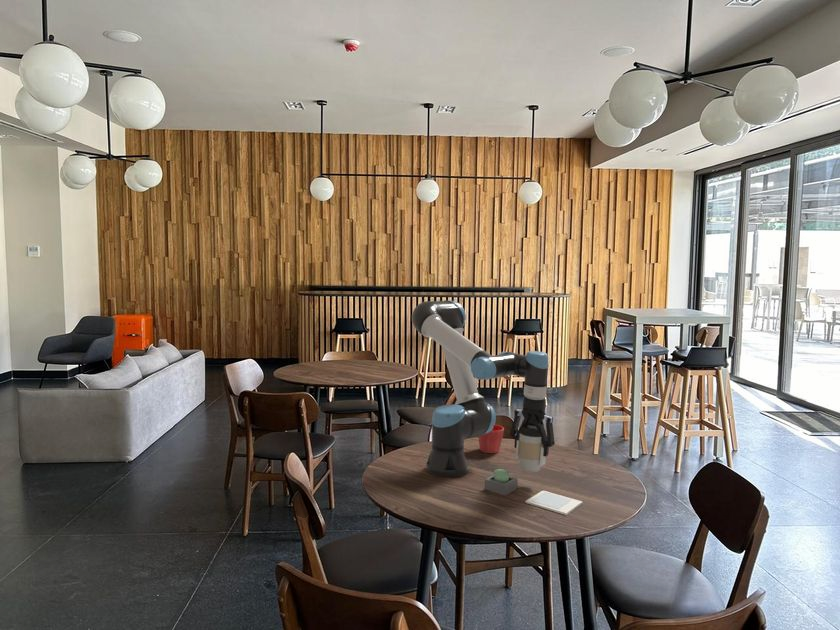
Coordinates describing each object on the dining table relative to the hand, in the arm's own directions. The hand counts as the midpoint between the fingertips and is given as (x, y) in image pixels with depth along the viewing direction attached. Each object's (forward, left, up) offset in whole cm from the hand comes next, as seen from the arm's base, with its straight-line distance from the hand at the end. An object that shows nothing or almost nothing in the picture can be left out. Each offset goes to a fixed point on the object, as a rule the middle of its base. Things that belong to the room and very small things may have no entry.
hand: (530, 461), depth 206 cm
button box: (-5, -10, -8) cm, 14 cm away
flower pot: (-30, +23, -9) cm, 39 cm away
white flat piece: (+14, -9, -8) cm, 18 cm away
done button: (-5, -10, -6) cm, 13 cm away
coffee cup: (0, 0, -3) cm, 3 cm away
